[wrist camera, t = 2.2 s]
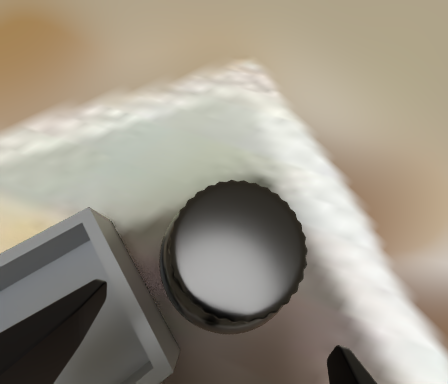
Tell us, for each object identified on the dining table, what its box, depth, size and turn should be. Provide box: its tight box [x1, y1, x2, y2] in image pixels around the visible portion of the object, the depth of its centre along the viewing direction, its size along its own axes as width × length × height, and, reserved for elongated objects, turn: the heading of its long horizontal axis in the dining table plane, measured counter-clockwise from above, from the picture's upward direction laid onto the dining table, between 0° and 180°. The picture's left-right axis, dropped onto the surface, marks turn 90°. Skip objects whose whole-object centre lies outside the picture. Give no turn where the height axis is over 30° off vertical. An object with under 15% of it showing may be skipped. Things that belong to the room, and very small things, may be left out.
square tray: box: [0, 207, 180, 384], centre depth 14 cm, size 12×12×4 cm
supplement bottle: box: [159, 180, 307, 334], centre depth 13 cm, size 7×7×12 cm
